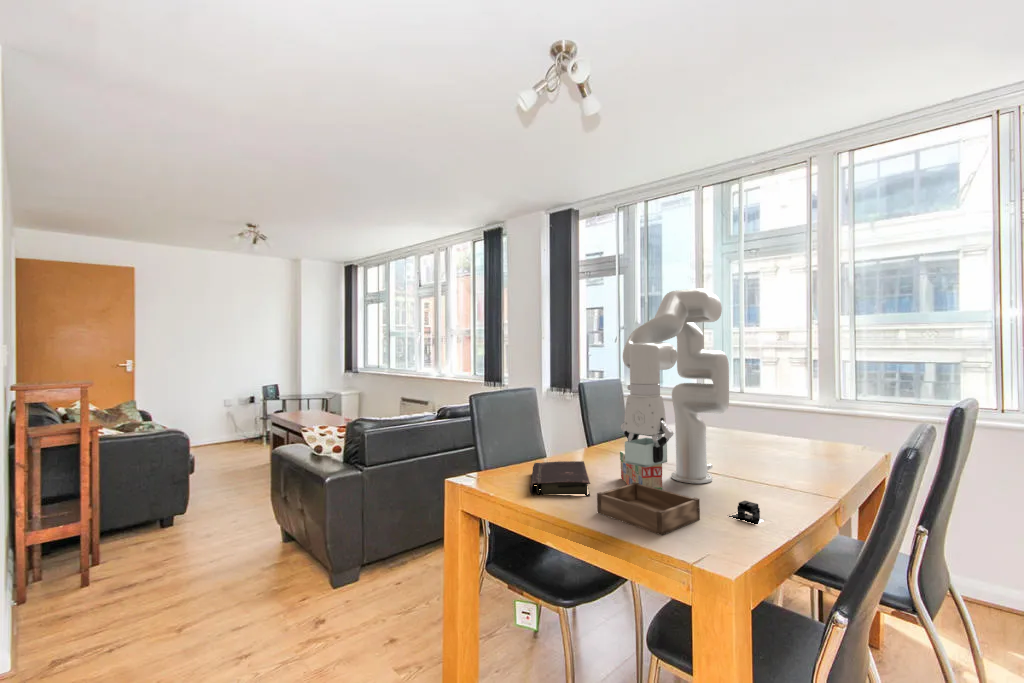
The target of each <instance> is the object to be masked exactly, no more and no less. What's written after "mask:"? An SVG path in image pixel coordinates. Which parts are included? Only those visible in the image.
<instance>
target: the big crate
mask: <svg viewBox="0 0 1024 683" xmlns="http://www.w3.org/2000/svg"><path fill="white" fill-rule="evenodd" d="M596 502H597V503H596V505H597V506H596V508H597V512H598V513H597V512H596V513H597V514H599V513H601V514H600V515H602V514H604V515H603V516H605V515H606V517H608V516H609V517H608V518H611V517H612V518H611V519H614V520H617V521H619V520H620V522H622V521H623V522H622V523H625V522H626V524H629V525H632V526H634V527H637V528H640V529H643V530H646V531H649V532H651V533H655V534H657V535H660V536H663V535H666V534H669V533H672V532H673V531H676V530H678V529H681V528H683V527H685V526H687V525H690V524H692V523H695V522H697V521H700V519H701V517H700V516H701V513H700V510H701V509H700V508H701V507H700V498H697V497H691V496H688V495H683V494H681V493H680V494H678V493H676V492H671V491H668V490H664V489H662V490H661V489H657V488H653V487H649V486H645V485H641V484H639V483H636V482H634V483H632V484H629V485H628V484H626V485H623V486H619V487H616V488H613V489H612V488H611V489H609V490H605V491H602V492H601V491H600V492H597V493H596Z"/></svg>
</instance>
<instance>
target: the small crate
mask: <svg viewBox="0 0 1024 683" xmlns="http://www.w3.org/2000/svg"><path fill="white" fill-rule="evenodd" d="M653 447H655V444H654V442H653V439H652V437H651V438H650V437H643V438H642V437H641V438H638V439H636V440H631V441H628V440H627V441H624V451H625V463H627V464H632V465H636V466H641V467H645V468H647V467H650V466H654V465H658V464H662V465H663V464H665V463H668V442H667V443H666V444H665V445H664V446H663V461H661V462H658V463H654V462H653Z"/></svg>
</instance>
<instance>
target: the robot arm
mask: <svg viewBox="0 0 1024 683" xmlns="http://www.w3.org/2000/svg"><path fill="white" fill-rule="evenodd" d="M722 310H723V307H722V302H721V300H720V298H719V297H718V295H716V294H714V293H713V292H711V291H710V290H709V289H705V288H692V289H678V290H676V289H675V290H672V291H669V292H667V293H666V294H665V295H664V296H663V298H662V301H661V302H660V305H659V306H658V309H657V311H656V313H655V316H654V317H653V318H652V319H651V318H650V319H649V320H648V321H646V322H644V323H643V324H642V325H640V326H638V327H637V328H635V329H634V330H632V332H631V334H629V336H628V339H627V341H626V342H625V345H624V348H623V351H622V361H623V363H624V365H625V367H627V368H628V369H629V384H628V385H627V390H629V393H630V394H628V395H627V397H626V400H625V402H626V403H625V406H624V407H625V408H624V409H625V410H624V422H622V423H621V424H620V429H621V431H622V432H623V433H624V435H625V437H626V439H627V441H631V440H636V439H639V437H640V436H646V437H651V438H652V439H653V442H654V444H655V447H653V462H654V463H658V462H661V461H663V446H664V445H665V444H666V443H667V444H668V442H669V440H670V439H671V438H672V437H673V436H674V434H675V465H676V466H675V467H676V468H675V469H676V470H675V471H673V472H671V478H672V480H675V481H677V482H681V483H686V484H709V483H711V482H712V481H713V477H712V475H711V474H709V473H708V471H709V470H711V469H713V464H711V463H708V462H707V460H708V459H707V426H706V423H705V421H704V420H703V418H702V417H701V415H700V414H701V413H702V414H724V413H726V412H727V411H728V409H729V404H730V366H729V358H728V356H727V354H726V353H725V352H724V351H722V350H715V349H714V350H713V349H712V350H709V349H706V350H705V336H704V333H703V331H702V330H701V329H700V328H699V327H698V326H697V325H696V323H714V322H717V321H718V320H719V319H720V318H721V316H722V313H723V312H722ZM675 337H676V348H675V346H674V345H673V344H671V343H669V342H666V341H668V340H670V339H673V338H675ZM675 365H676V370H677V374H678V376H679V377H680V378H684V379H687V380H710V381H712V383H701V382H684V383H683V382H681V383H679V384H676V385H675V386H674V387H673V388H672V391H671V401H672V406H673V412H674V423H675V424H674V425H675V427H674V428H675V431H674V432H675V433H674V432H673V430H672V429H671V427H669V426H668V424H667V420H666V411H665V405H664V399H663V396H662V395H661V384H660V383H661V375H660V374H661V373H660V372H661V371H666V370H670V369H672V368H673V367H674V366H675Z"/></svg>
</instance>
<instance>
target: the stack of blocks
mask: <svg viewBox="0 0 1024 683" xmlns="http://www.w3.org/2000/svg"><path fill="white" fill-rule="evenodd" d="M619 459H620V478H622V479H621V480H622V481H623V482H624V481H625V482H626V483H625V482H624V483H625V484H626V485H629V484H632V483H634V482H636V483H639V484H641V485H645V486H649V487H653V488H657V489H661V490H663V463H662V464H658V465H654V466H650V467H647V468H645V467H641V466H636V465H632V464H627V463H625V450H620V451H619Z"/></svg>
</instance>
